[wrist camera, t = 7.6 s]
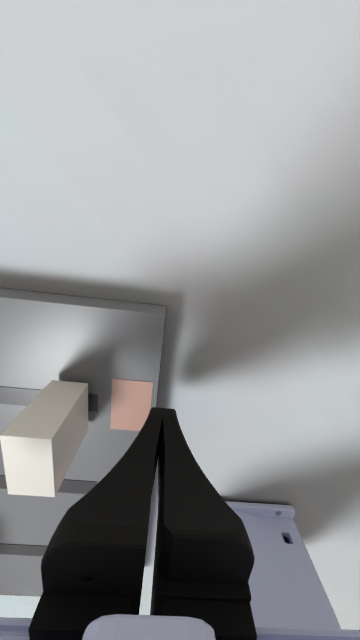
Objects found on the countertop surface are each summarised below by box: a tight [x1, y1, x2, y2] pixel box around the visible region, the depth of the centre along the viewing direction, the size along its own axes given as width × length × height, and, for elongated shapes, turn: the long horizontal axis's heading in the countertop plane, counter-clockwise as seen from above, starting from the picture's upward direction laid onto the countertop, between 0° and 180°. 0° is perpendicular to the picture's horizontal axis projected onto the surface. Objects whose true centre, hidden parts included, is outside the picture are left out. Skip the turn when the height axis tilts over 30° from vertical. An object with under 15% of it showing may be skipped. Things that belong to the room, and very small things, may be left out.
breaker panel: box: [0, 288, 166, 596], centre depth 16 cm, size 18×26×2 cm
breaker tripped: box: [0, 380, 88, 497], centre depth 11 cm, size 2×3×4 cm, turn 173°
